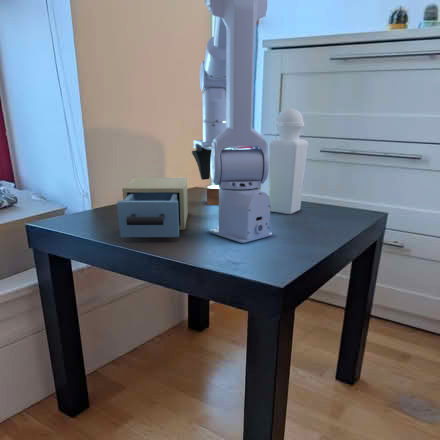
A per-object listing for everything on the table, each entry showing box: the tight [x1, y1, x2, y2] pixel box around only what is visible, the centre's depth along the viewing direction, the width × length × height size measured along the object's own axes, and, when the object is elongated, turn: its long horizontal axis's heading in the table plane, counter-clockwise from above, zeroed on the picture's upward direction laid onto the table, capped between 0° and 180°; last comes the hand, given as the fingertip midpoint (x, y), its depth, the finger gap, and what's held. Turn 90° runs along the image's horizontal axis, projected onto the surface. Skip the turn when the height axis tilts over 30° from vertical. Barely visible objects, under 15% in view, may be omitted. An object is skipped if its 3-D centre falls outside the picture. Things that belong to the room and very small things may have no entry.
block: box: [206, 185, 219, 206], centre depth 105 cm, size 4×4×4 cm
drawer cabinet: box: [121, 176, 189, 231], centre depth 87 cm, size 14×12×8 cm
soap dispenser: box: [268, 108, 309, 215], centre depth 94 cm, size 6×6×22 cm
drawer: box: [116, 193, 180, 238], centre depth 77 cm, size 17×10×6 cm, turn 2°
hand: (214, 181), depth 103 cm, fingers open, 7 cm apart
